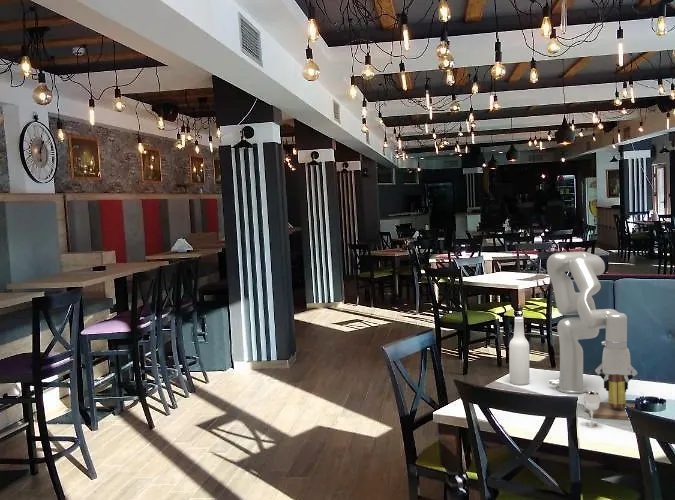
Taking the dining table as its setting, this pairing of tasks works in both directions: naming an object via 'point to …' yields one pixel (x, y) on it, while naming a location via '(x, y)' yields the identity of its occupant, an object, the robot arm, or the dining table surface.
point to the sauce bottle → (616, 391)
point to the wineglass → (591, 404)
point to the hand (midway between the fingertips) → (615, 390)
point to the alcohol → (519, 355)
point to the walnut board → (610, 411)
